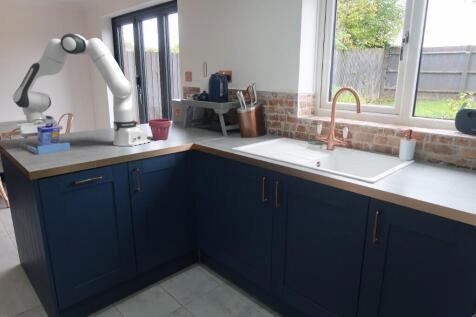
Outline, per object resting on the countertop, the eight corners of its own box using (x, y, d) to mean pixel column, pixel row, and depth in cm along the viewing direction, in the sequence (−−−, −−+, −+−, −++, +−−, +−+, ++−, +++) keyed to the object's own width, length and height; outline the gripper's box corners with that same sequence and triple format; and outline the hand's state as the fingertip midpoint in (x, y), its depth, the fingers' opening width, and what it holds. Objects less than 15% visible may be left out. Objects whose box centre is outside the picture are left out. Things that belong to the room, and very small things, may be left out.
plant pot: (168, 141, 210) (167, 121, 207) (146, 141, 210) (145, 121, 207) (173, 137, 224) (172, 118, 220) (152, 137, 224) (152, 118, 221)
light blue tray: (50, 141, 204) (49, 135, 203) (70, 149, 183) (69, 142, 182) (19, 145, 192) (18, 138, 191) (37, 154, 172) (36, 146, 171)
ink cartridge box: (42, 150, 181) (41, 125, 176) (37, 147, 183) (36, 122, 179) (60, 147, 189) (59, 123, 184) (54, 144, 192) (54, 120, 187)
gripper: (16, 119, 180) (24, 139, 177) (56, 116, 195) (64, 134, 191) (15, 126, 185) (23, 146, 181) (54, 123, 199) (62, 141, 195)
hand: (44, 140), depth 186 cm, fingers closed
